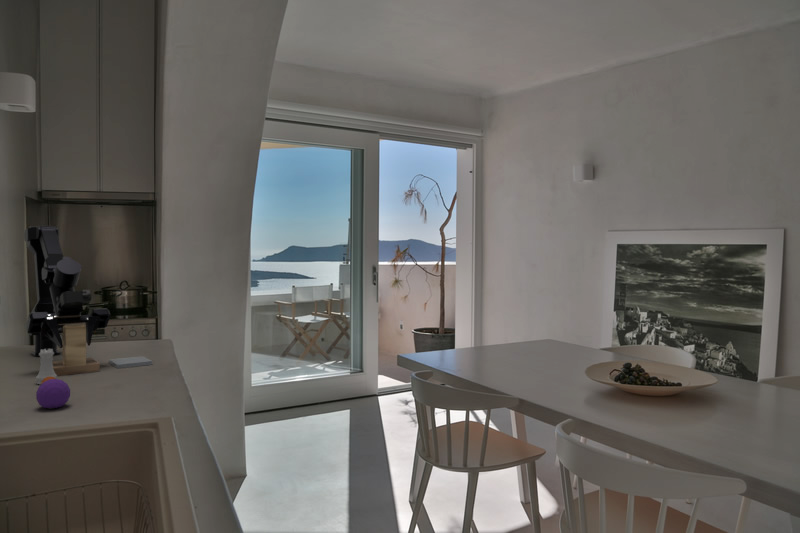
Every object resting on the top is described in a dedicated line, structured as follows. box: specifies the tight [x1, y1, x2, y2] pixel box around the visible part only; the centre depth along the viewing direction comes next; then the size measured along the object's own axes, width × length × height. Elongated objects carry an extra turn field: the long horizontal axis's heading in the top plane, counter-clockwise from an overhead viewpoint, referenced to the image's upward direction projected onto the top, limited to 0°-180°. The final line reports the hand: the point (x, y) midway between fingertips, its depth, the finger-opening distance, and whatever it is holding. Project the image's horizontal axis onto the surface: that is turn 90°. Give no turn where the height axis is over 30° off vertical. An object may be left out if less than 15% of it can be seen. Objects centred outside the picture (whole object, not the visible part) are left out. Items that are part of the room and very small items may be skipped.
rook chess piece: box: [35, 349, 58, 386], centre depth 138 cm, size 4×4×8 cm
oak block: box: [62, 324, 87, 367], centre depth 149 cm, size 4×4×10 cm
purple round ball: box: [35, 376, 71, 409], centre depth 123 cm, size 6×6×20 cm
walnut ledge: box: [52, 357, 101, 377], centre depth 152 cm, size 10×11×2 cm
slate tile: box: [108, 355, 153, 369], centre depth 162 cm, size 9×9×1 cm
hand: (75, 345), depth 148 cm, fingers open, 6 cm apart
